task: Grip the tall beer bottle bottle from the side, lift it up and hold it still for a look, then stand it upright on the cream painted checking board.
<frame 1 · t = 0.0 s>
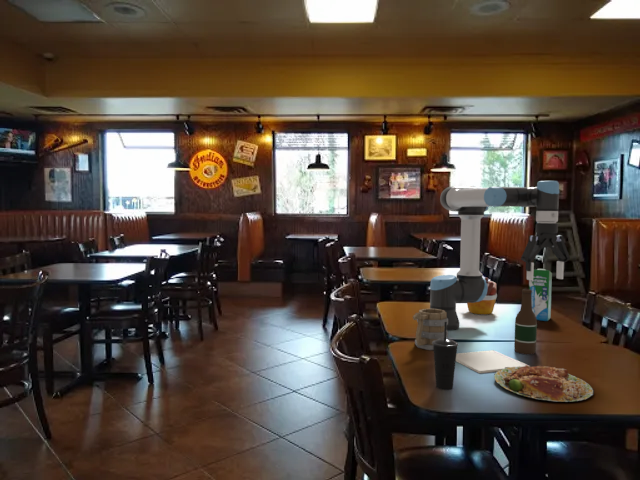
hand: (544, 279, 189), 28 cm above the table, tool pointing down, fingers open, 13 cm apart
drinking cup: (444, 387, 154), on the table
checking board: (486, 362, 179), on the table
milk carton: (539, 318, 252), on the table
tankard: (426, 348, 198), on the table
rice dish: (541, 388, 155), on the table
bucket of meat: (480, 313, 266), on the table
beer bottle: (525, 352, 192), on the table
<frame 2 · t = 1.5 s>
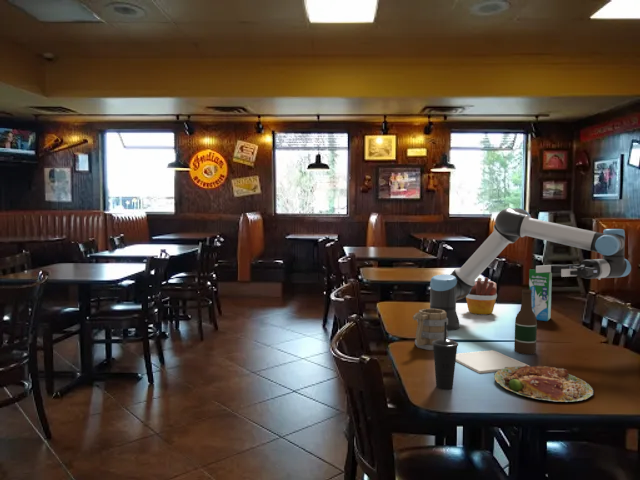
hand: (548, 271, 194), 31 cm above the table, tool horizontal, fingers open, 13 cm apart
nothing on the table moved.
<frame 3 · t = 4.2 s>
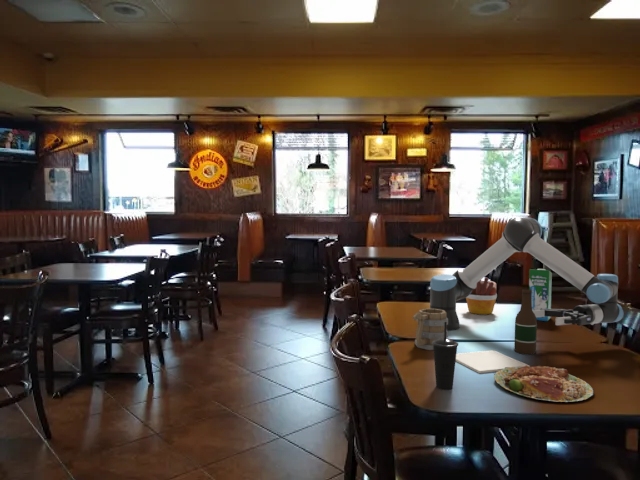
hand: (542, 317, 193), 13 cm above the table, tool horizontal, fingers open, 13 cm apart
nothing on the table moved.
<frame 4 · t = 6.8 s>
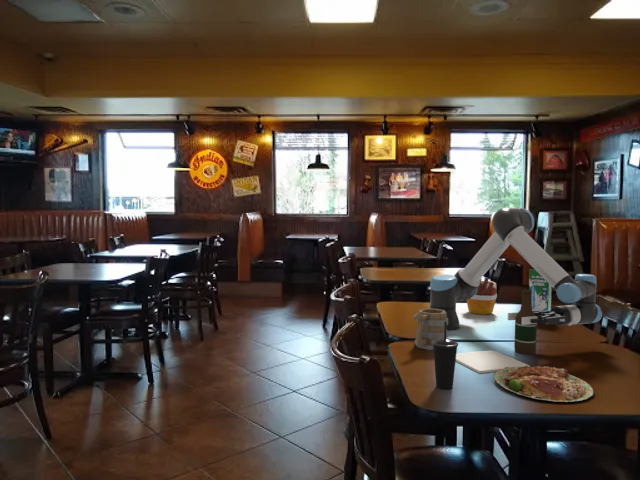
hand: (515, 318, 190), 13 cm above the table, tool horizontal, fingers closed on beer bottle, 7 cm apart
beer bottle: (525, 352, 192), on the table, touching gripper
everything else where it was.
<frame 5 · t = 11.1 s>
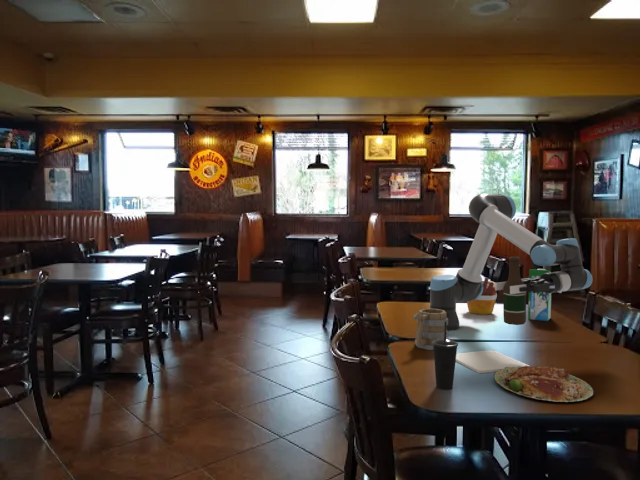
hand: (503, 288, 181), 26 cm above the table, tool horizontal, fingers closed on beer bottle, 7 cm apart
beer bottle: (514, 323, 184), point 13 cm above the table, touching gripper
everything else where it was.
when the fingers open (15 cm above the table, at t = 15.5 s): beer bottle drops 1 cm, resting on checking board.
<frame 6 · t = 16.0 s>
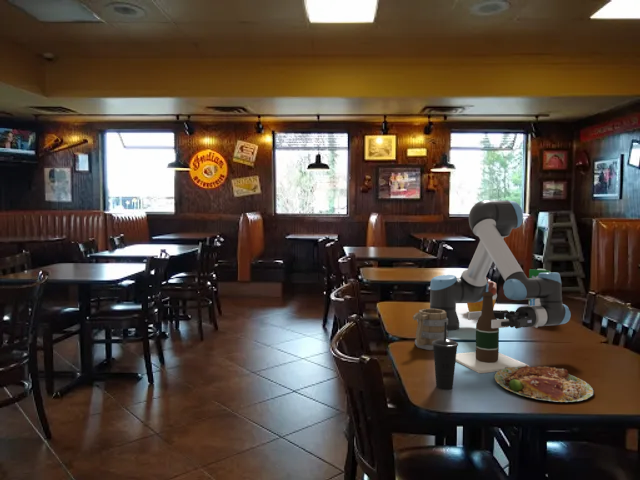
hand: (479, 319, 177), 15 cm above the table, tool horizontal, fingers open, 13 cm apart
beer bottle: (486, 360, 179), point 1 cm above the table, touching checking board
everything else where it was.
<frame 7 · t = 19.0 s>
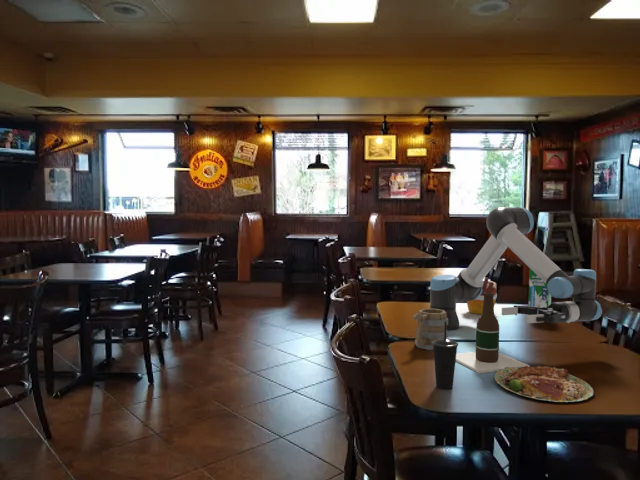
hand: (514, 315, 182), 16 cm above the table, tool horizontal, fingers open, 13 cm apart
nothing on the table moved.
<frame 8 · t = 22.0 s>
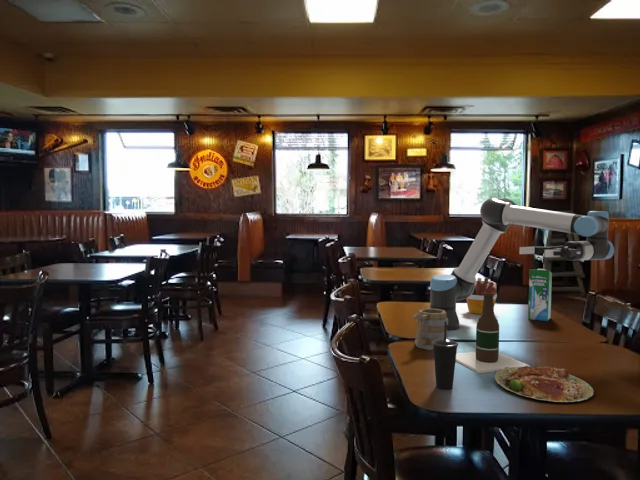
hand: (532, 252, 192), 38 cm above the table, tool horizontal, fingers open, 13 cm apart
nothing on the table moved.
at the end: beer bottle inside the target area on the checking board (0.1 cm from its centre), point 0.6 cm above the checking board's base; beer bottle tilted 0°; the gripper is holding nothing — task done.
